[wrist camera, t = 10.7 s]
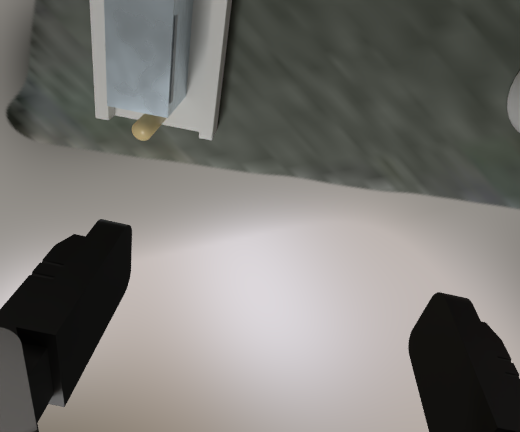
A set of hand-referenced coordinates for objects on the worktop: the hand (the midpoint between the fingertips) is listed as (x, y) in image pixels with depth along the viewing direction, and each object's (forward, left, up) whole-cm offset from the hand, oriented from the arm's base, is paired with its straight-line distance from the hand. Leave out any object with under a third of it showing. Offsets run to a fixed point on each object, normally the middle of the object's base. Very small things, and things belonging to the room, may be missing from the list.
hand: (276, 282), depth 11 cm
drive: (-1, -10, -22) cm, 24 cm away
